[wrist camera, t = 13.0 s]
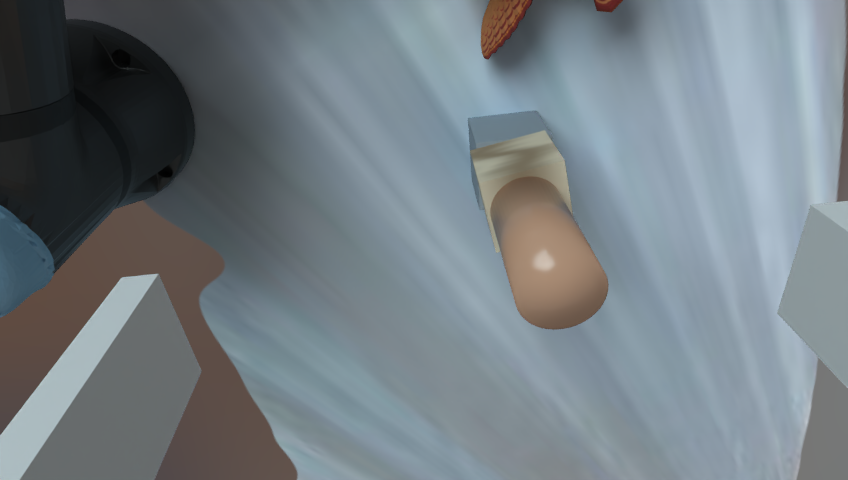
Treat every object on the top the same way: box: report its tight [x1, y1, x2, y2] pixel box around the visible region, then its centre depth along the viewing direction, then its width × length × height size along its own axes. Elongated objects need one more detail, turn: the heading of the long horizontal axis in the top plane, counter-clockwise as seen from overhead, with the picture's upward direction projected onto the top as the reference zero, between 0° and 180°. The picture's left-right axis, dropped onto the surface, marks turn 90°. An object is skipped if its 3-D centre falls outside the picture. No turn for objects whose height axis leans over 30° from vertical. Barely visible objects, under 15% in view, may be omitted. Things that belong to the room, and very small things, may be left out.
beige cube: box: [470, 130, 573, 253], centre depth 41 cm, size 6×6×6 cm
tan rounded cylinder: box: [490, 176, 608, 329], centre depth 34 cm, size 5×5×10 cm
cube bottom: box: [468, 111, 552, 210], centre depth 46 cm, size 6×6×6 cm
